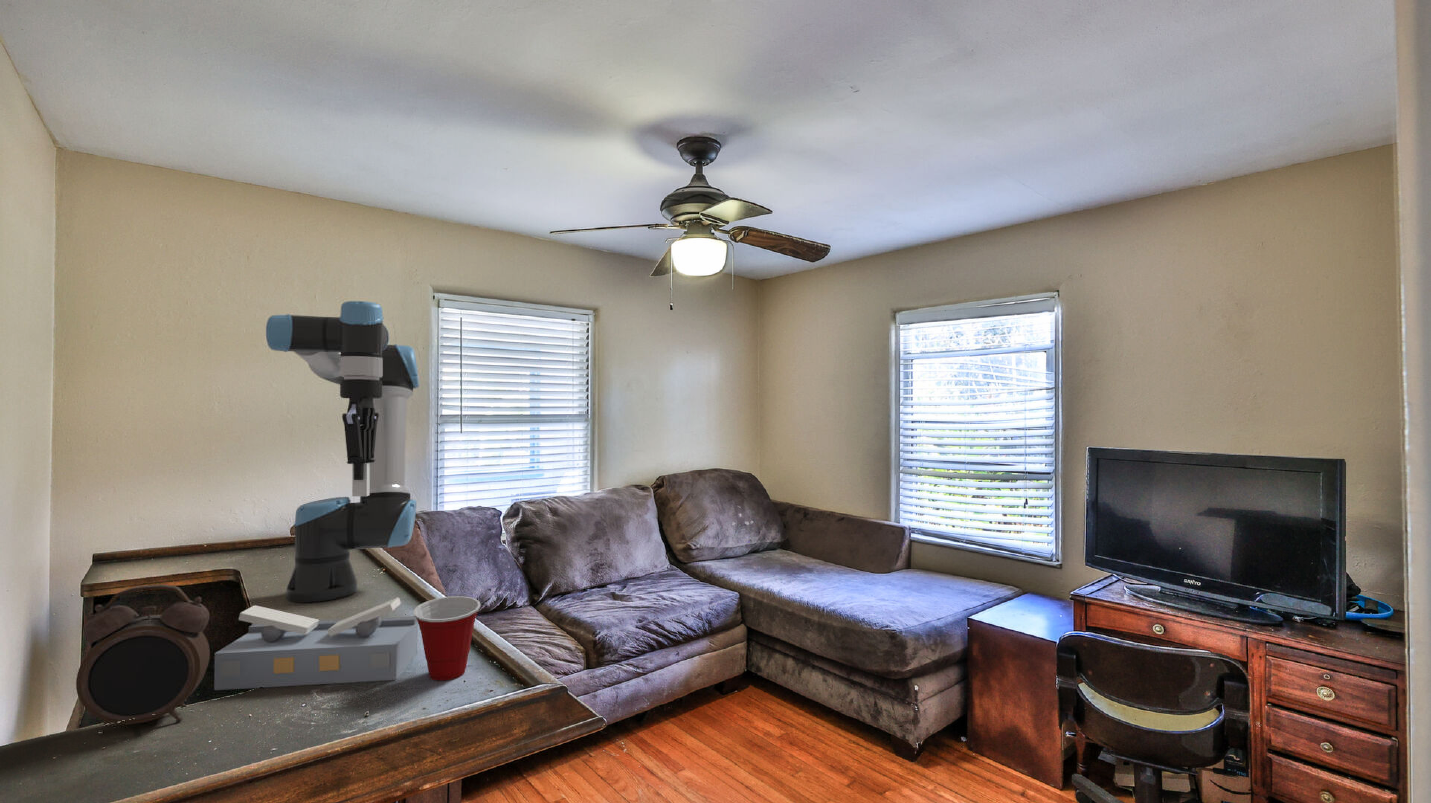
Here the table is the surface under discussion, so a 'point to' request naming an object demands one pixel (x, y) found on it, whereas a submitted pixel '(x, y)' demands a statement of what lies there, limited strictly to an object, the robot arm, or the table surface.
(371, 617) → the rocker right
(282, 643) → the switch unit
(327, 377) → the robot arm
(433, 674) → the plastic cup
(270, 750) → the table surface
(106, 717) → the alarm clock
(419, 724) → the table surface
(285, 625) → the rocker left
